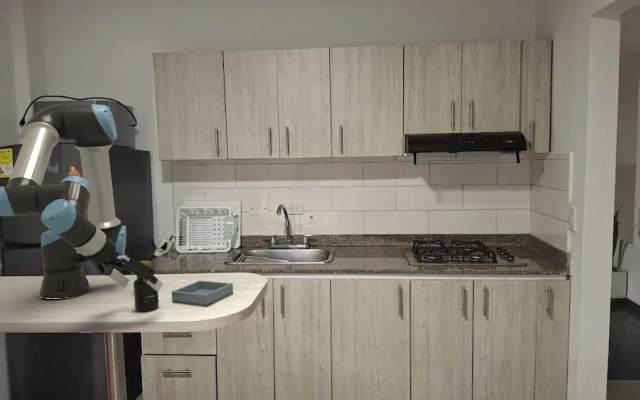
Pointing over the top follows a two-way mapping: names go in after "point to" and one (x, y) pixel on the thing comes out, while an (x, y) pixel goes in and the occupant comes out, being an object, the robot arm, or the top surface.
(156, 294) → the supplement bottle
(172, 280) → the top surface
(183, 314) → the top surface
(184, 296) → the tray
